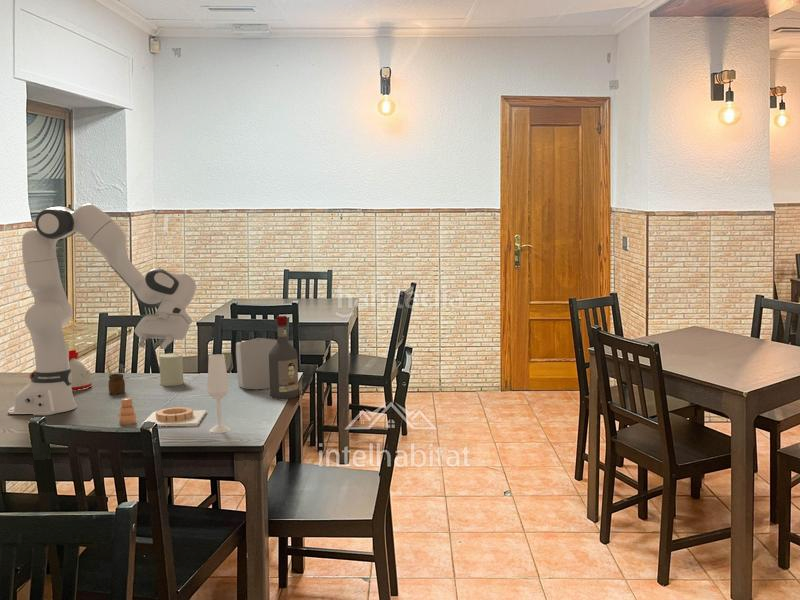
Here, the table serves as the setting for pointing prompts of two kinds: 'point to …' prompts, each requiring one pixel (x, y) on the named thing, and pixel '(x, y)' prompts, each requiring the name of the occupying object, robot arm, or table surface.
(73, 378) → the kitchen timer
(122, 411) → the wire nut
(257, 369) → the electrical switch box
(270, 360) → the liquor
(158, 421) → the collar plate
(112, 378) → the utensil holder
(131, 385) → the table surface
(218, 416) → the champagne flute
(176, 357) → the can
